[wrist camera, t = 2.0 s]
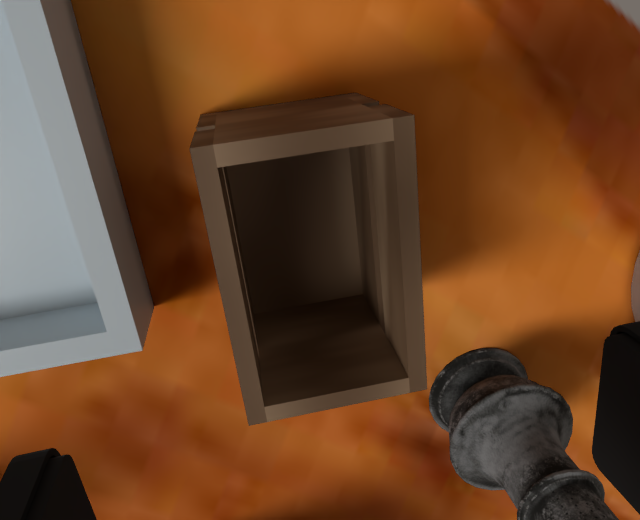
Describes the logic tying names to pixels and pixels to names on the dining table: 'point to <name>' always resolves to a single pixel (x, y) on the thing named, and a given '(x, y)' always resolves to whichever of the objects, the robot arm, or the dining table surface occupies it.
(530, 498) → the dark grey chess piece
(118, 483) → the dining table surface
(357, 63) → the dining table surface
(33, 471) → the robot arm
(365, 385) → the walnut crate
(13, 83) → the grey crate
